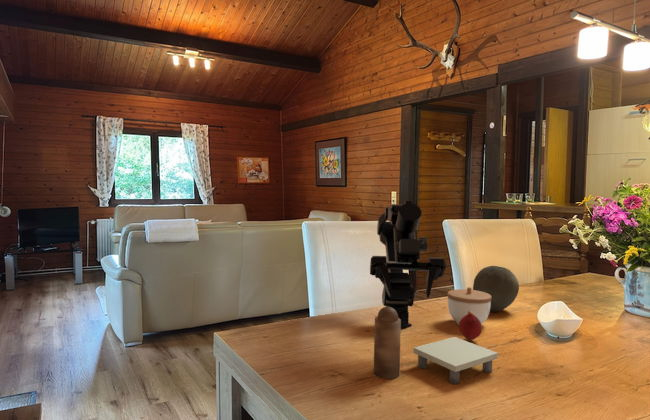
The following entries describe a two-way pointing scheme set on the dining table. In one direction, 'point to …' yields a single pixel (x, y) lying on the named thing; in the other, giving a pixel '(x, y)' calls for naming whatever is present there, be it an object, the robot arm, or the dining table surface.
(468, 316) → the onion
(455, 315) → the lidded bowl
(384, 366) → the mill
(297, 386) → the dining table surface
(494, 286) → the grey sphere
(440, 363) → the shelf
